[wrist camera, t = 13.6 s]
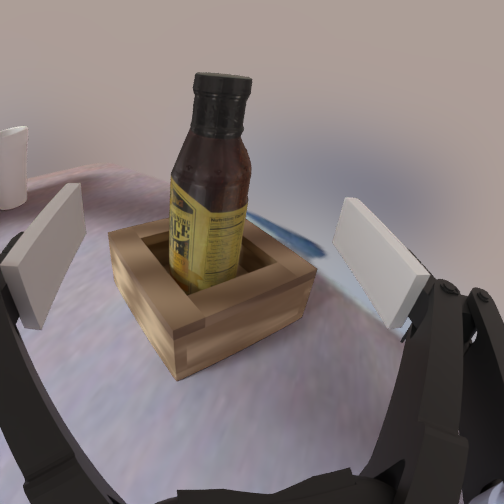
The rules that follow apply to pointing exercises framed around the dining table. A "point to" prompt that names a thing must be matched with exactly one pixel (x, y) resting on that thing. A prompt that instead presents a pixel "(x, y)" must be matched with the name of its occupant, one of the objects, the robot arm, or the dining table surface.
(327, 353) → the dining table surface
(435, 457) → the robot arm
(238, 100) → the sauce bottle
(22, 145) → the foam cup
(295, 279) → the open wooden box
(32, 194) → the dining table surface
